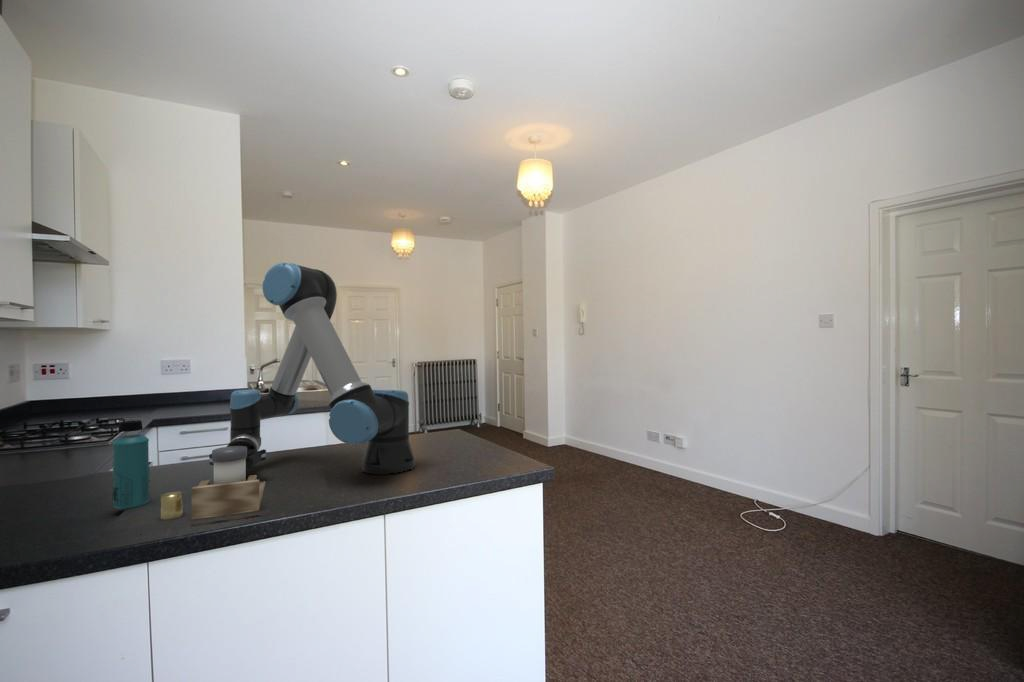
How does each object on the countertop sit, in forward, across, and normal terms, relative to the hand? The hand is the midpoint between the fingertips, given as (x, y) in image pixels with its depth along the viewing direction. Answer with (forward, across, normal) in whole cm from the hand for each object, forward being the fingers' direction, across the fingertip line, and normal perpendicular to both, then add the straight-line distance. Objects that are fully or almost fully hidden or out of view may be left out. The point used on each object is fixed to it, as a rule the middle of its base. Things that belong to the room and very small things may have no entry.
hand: (229, 472), depth 106 cm
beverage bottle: (-7, +20, -8) cm, 22 cm away
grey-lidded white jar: (+3, 0, -6) cm, 7 cm away
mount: (-2, 0, -8) cm, 8 cm away
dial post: (+6, +10, -8) cm, 14 cm away
